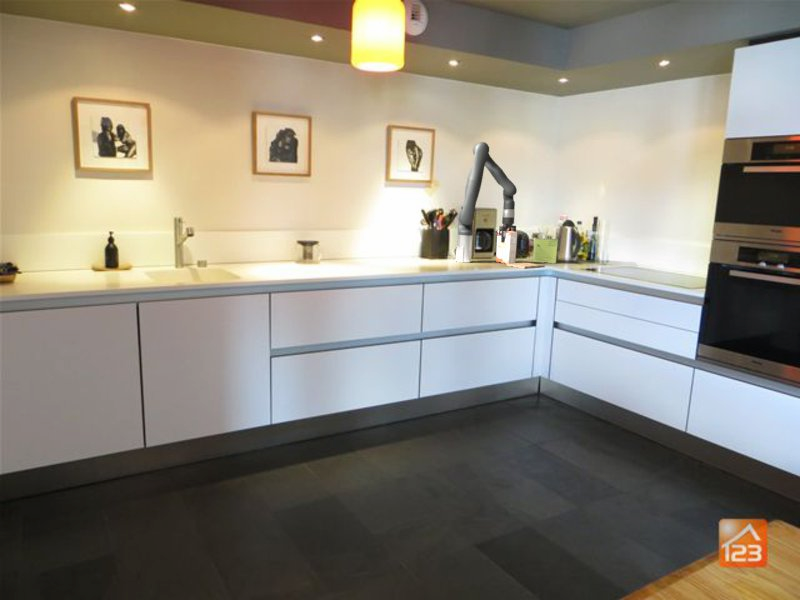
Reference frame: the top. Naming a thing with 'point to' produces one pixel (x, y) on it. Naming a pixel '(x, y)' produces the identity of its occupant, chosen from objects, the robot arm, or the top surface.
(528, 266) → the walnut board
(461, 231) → the robot arm
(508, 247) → the cracker box
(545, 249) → the protein box
